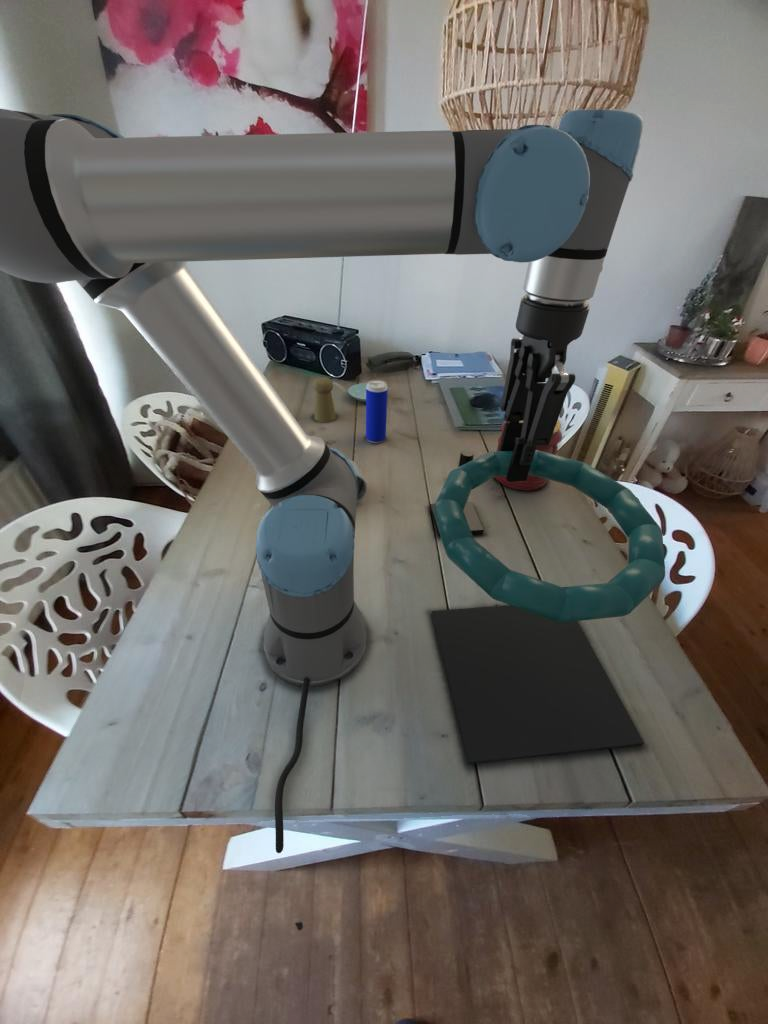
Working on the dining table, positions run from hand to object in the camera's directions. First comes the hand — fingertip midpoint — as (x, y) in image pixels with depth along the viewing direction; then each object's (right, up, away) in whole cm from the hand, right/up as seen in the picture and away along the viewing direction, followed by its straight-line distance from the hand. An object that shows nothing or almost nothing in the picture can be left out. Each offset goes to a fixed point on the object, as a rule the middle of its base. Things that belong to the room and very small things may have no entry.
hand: (510, 471), depth 64 cm
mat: (+2, -29, 0) cm, 29 cm away
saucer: (-23, +29, +70) cm, 79 cm away
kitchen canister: (+13, +2, +39) cm, 42 cm away
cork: (-35, +20, +59) cm, 72 cm away
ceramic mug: (-28, -3, +31) cm, 42 cm away
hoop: (+2, -7, -9) cm, 12 cm away
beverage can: (-21, +13, +51) cm, 56 cm away
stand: (-4, -8, +26) cm, 27 cm away
